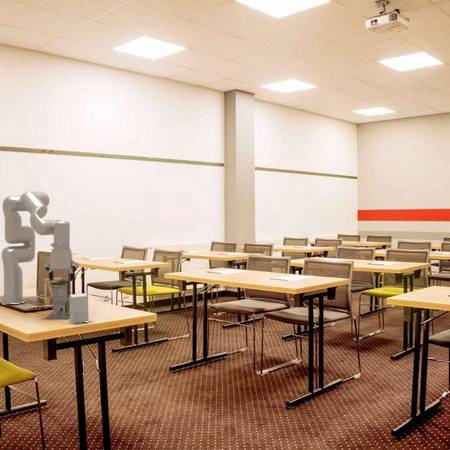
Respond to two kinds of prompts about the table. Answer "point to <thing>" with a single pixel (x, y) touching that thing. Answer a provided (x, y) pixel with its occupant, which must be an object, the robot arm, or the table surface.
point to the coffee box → (61, 298)
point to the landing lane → (50, 316)
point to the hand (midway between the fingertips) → (61, 280)
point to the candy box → (49, 290)
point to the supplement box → (78, 308)
